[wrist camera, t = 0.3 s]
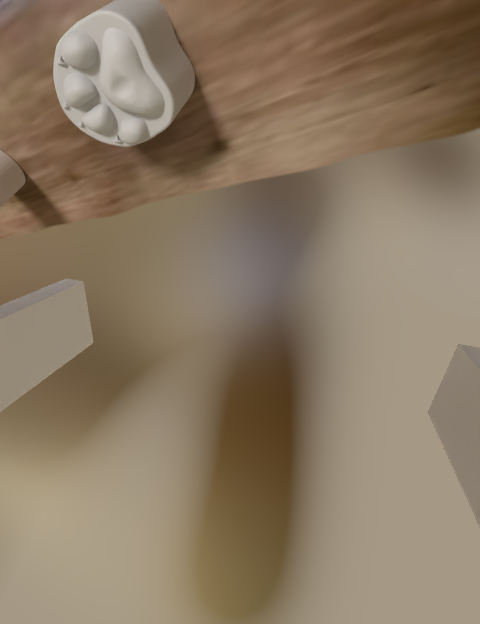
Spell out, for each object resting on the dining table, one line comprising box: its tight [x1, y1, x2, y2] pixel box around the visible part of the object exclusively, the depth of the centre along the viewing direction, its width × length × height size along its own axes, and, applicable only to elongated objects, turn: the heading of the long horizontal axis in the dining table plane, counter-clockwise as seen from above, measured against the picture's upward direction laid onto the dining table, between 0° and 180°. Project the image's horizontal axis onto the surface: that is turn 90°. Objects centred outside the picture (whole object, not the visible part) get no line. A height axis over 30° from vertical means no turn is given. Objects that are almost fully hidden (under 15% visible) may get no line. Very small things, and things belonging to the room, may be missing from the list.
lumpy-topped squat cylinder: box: [54, 0, 195, 147], centre depth 32 cm, size 10×13×9 cm
